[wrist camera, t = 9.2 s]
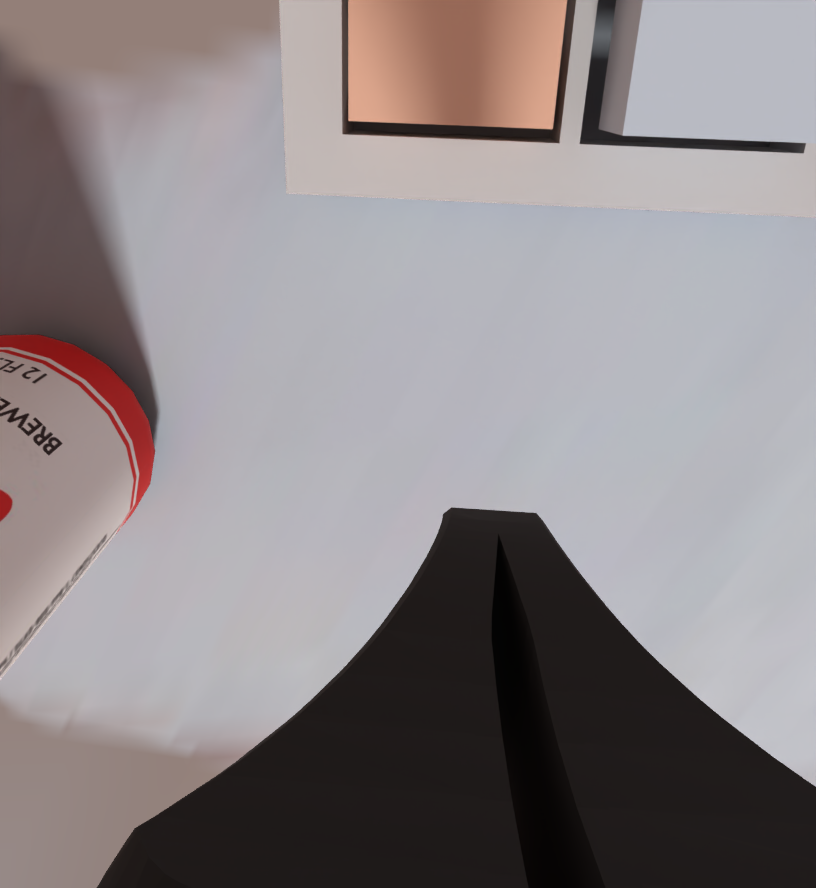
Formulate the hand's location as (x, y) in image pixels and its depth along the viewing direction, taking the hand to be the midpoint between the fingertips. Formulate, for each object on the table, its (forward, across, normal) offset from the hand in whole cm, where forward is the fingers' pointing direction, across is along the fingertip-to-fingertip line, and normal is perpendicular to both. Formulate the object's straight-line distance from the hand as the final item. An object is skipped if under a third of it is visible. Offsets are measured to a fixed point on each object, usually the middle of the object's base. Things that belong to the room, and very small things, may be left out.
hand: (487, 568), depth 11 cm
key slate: (+7, -4, -8) cm, 11 cm away
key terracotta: (+8, +1, -8) cm, 11 cm away
